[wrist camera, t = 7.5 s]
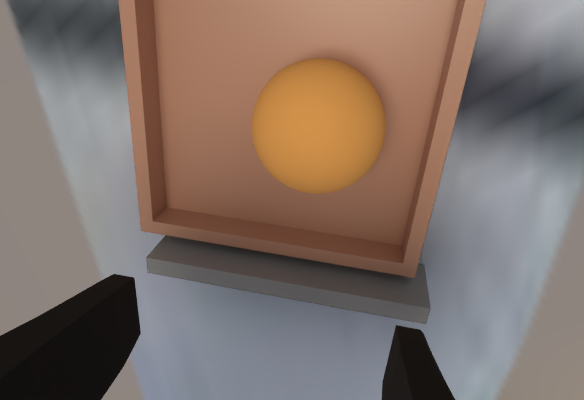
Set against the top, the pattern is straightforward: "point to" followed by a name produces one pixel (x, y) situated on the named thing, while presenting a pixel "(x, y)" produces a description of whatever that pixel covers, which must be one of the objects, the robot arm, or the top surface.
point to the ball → (318, 125)
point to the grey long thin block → (293, 278)
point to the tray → (240, 105)
